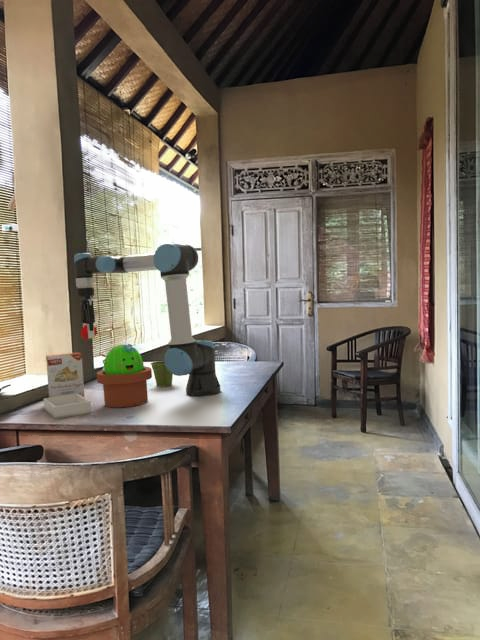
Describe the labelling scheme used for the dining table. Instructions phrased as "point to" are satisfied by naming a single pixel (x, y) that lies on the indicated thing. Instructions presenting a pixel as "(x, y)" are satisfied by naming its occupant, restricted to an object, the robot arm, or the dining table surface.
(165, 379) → the plant pot
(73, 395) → the box
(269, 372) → the dining table surface
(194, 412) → the dining table surface
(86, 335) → the apple
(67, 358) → the cracker box
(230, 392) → the dining table surface
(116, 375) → the potted cactus
